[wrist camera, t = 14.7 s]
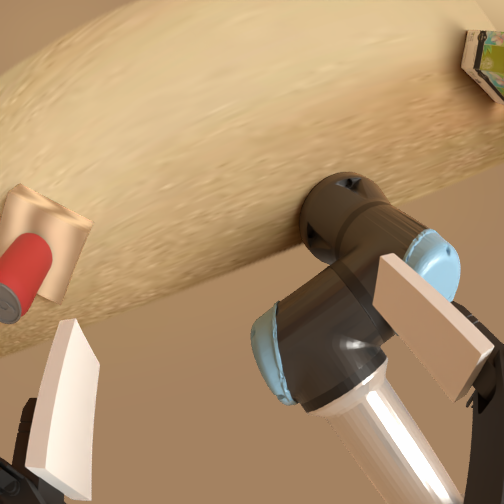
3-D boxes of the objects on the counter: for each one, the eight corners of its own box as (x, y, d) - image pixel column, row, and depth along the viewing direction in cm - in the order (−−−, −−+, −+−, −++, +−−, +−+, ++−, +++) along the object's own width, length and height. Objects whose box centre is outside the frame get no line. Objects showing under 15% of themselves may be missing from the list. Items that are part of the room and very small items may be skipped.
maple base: (94, 222, 40) (87, 233, 37) (66, 290, 43) (60, 305, 40) (20, 183, 34) (8, 191, 31) (0, 256, 38) (-10, 268, 34)
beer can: (45, 281, 38) (19, 337, 27) (9, 259, 35) (-26, 309, 24) (60, 245, 36) (30, 298, 26) (22, 222, 33) (-19, 267, 23)
